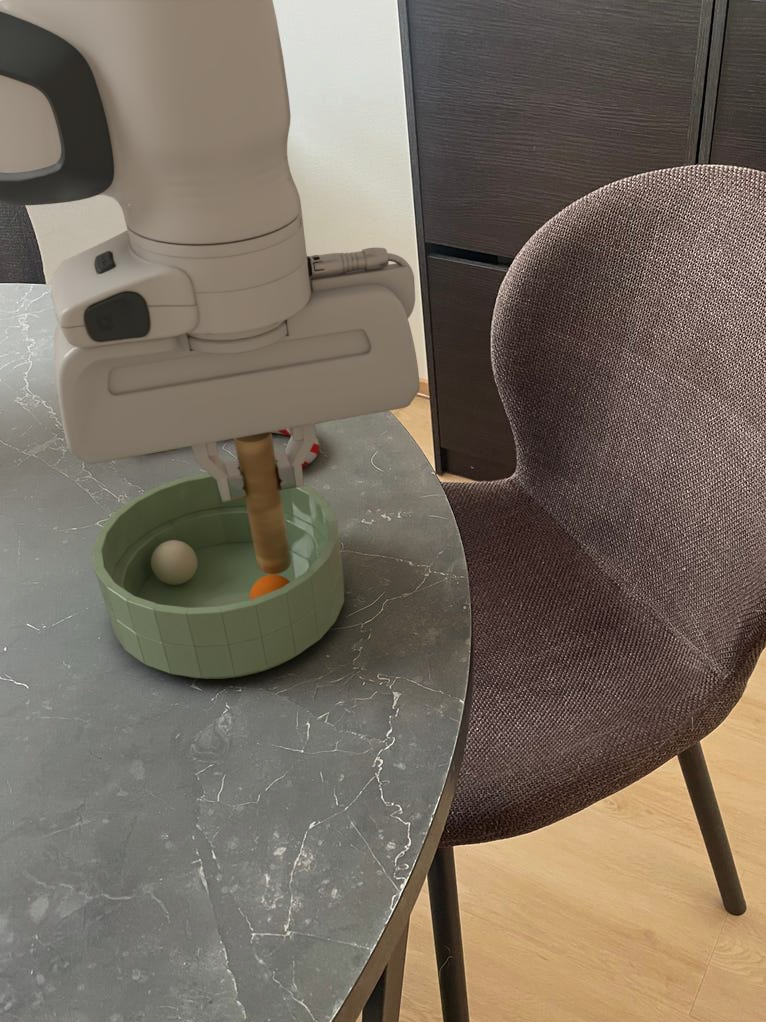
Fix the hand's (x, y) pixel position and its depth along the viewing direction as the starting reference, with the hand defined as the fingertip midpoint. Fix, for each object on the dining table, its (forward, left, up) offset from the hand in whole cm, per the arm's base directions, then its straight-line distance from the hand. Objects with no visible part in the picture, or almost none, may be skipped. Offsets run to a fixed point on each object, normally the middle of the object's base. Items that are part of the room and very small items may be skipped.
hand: (261, 489), depth 64 cm
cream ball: (-6, +4, -7) cm, 10 cm away
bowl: (-3, +1, -9) cm, 10 cm away
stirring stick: (0, 0, -6) cm, 6 cm away
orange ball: (-1, -2, -7) cm, 7 cm away
